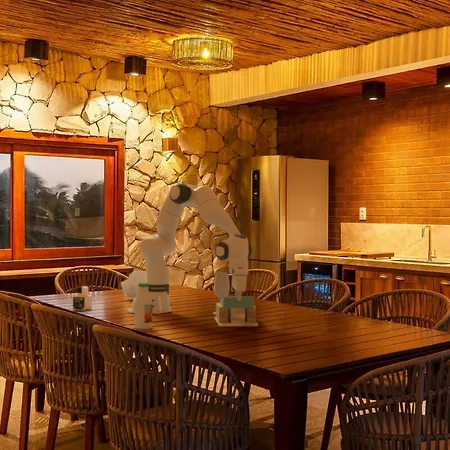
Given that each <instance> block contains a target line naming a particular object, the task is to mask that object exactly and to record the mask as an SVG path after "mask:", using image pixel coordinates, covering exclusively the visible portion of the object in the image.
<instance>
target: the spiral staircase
mask: <svg viewBox="0 0 450 450" xmlns="http://www.w3.org/2000/svg"><path fill="white" fill-rule="evenodd" d="M139 283H147V269H146V270H136V269H135V270H134V271H132V272H131V273H129V275H128V277H127V279H126V280H125V279H124V281H121V282H120V286H121V291H122V293H123V294H124V295H126V296H125V297H127V298H131V299H132V300H133V299H134V298H135V297H136V296H137V295H138V292H139V286H138V285H139Z"/></svg>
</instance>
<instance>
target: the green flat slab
mask: <svg viewBox="0 0 450 450" xmlns="http://www.w3.org/2000/svg"><path fill="white" fill-rule="evenodd" d="M219 303H220V305H221V306H222V307H223V308H254V306H255V297H254V296H241V301H238V300H237V297H235V296H227V297H223V301H219Z"/></svg>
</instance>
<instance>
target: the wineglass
mask: <svg viewBox="0 0 450 450" xmlns="http://www.w3.org/2000/svg"><path fill="white" fill-rule="evenodd" d="M230 285H231V284H230V277H229V272H220V271H217V272H216V273H215V277H214V282H213V290H214V291H213V292H214V294H215V296H216V297H217V298H218V299H219V300H220V301H223V297H229V293H230V290H231V287H230ZM220 301H219V302H220ZM212 314H213V315H214V316H216V311H214V312H212Z"/></svg>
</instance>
